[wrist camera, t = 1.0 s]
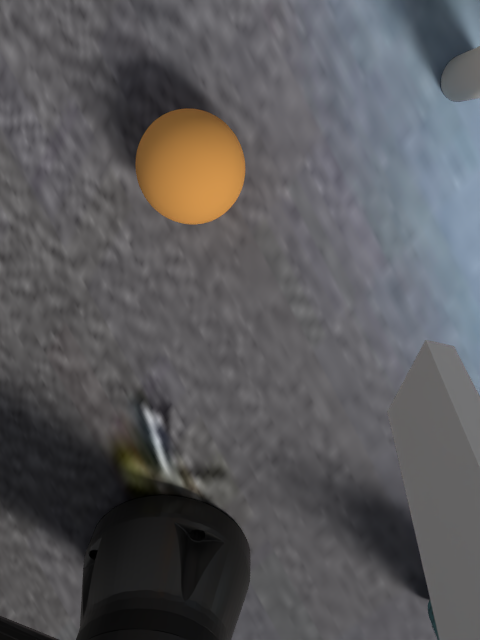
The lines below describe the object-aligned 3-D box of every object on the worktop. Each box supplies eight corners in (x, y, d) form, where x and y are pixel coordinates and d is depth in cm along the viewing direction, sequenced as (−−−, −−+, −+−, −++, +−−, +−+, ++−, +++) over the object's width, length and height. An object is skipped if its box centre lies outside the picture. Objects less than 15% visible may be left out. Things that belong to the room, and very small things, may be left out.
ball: (170, 226, 27) (149, 248, 22) (134, 131, 25) (101, 127, 19) (257, 199, 26) (259, 214, 21) (228, 97, 24) (222, 84, 19)
